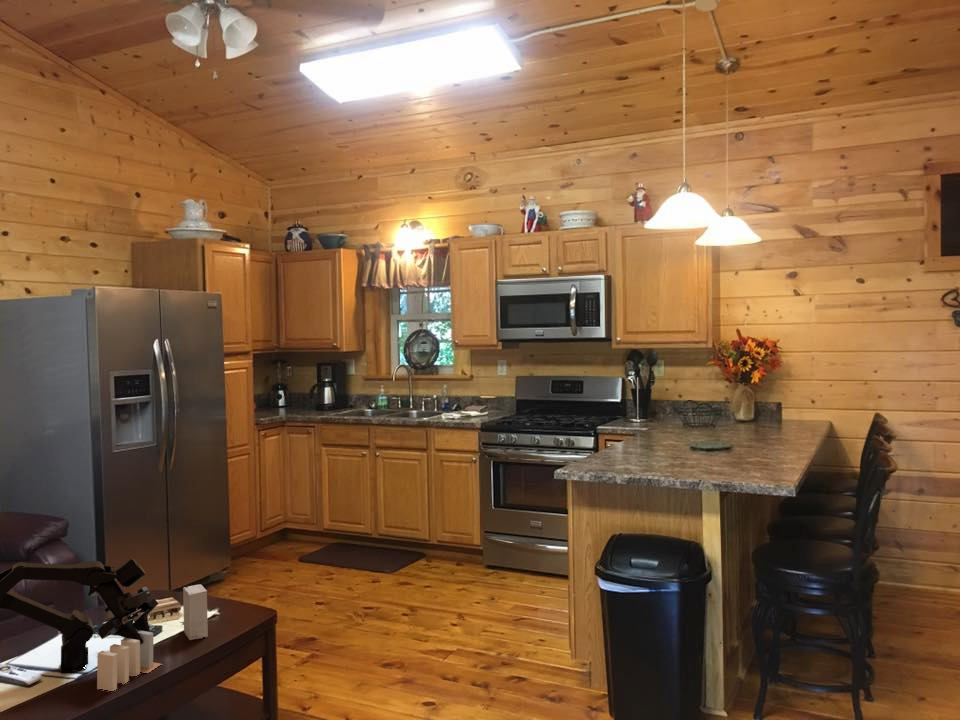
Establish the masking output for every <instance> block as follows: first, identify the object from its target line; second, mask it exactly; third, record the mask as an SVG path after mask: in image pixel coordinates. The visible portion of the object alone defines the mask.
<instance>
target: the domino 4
mask: <svg viewBox="0 0 960 720" xmlns="http://www.w3.org/2000/svg"><path fill="white" fill-rule="evenodd" d="M136 631H137V632H138V634H139V635H140V637H141V638H142V640H143V643H142V644H141V645H140V667H141V668H146V669H150V668H152V667H153V662H154V632H152V631H150V632H147V631H141V630H136Z"/></svg>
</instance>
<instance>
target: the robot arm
mask: <svg viewBox="0 0 960 720" xmlns="http://www.w3.org/2000/svg"><path fill="white" fill-rule="evenodd" d="M145 576H147V573H146V572H145V570H144V568H143V567H142V565H140V563H139V562H137V560H135V559H134V558H133V557H129V558H127V560H126V561H125V562H124V563H122V564H121V565H119V566H118V567H117V568H116V567H115V566H110V565H105V564H103V563H102V562H101V561H99V560H87V561H82V562H81V561H80V562H77V563H75V564H74V563H72V564H61V563H59V564H58V563H35V562H32V563H31V562H28V563H27V562H23V561H19V562H17V563H15V564H13V565H12V566H11V567H9V568H7V569H5V570H4V571H1V572H0V610H9V611H11V612H13V613H15V614H18V615H21V616H23V617H25V618H28V619H31V620H33V621H36V622H38V623H40V624H43V625H45V626H48V627H51V628H53V629H55V630H57V631H59V633H60V634H61V647H60V669H59V671H60V672H59V673H60V674H64V673H66V674H67V673H71V672H70V671H73V672H77V671H76V670H79V671H82V670H81V669H84V668H83V667H85V665H86V667H85V668H86V669H87V666H88V665H89V647H88V646H87V642H89V641H90V640H91V639H92V637H93V636H94V628H93V623H92V620H91V618H90V617H89V615H88V614H87V613H82V612H80V611H79V610H77V609H74V610H72V613H65V612H61V611H59V610H57V609H54V608H52V607H50V606H47V605H44V604H42V603H40V602H38V601H35V600H33V599H31V598H28V597H25V596H23V595H21V594H18V593H17V592H15V590H13V588H14V587H15V586H16V585H17V584H19V583H20V582H21V581H24V580H26V581H31V580H32V581H65V582H72V583H74V584H75V583H76V584H78V585H80V586H81V585H82V586H86V587H89V591H88V594H87V595H88V596H89V597H94V596H96V595H97V596H98V597H99V598H100V600H101V601H102V602H103V604H104V605H105V607H106V608H105V609H104V611H105V613H109V612H110V613H111V614H112V616H113V617H112V618H110V619H108V620H107V621H105V622H104V623H103V624H102V625H101V626H100V627H99V628H98V631H97V632H98V636H99V637H100V638H101V640H104V639H105V638H108V637H109V636H110V635H111V631H112V630H115V632H114V633H113V635H114V636H119V637H121V638H123V639H124V638H129V639H135V640H140V645H141V644H142V643H143V640H142V638H141V637H140V635H139V634H138V632H137V631H138V630H141V631H147V632H151V629H150V627H149V626H150V625H149V622H148V617H149V614H150V613H151V612H152V611H153V610H154V609H155V608H156V607H158V605H159V602H158V601H157V600H156V598H152V597H151V595H152V594H151V591H150V589H148V587H147V586H143V587H141V588H140V589H138V590H137V593H135V594H131V593H130V592H125V591H124V590H123V588H130V587H132V586H133V585H134V584H136V583H137V582H139V580H141V579H143V578H144V577H145ZM116 580H117V581H118V582H117V581H116ZM118 583H119V584H118ZM120 585H121V586H122V587H123V588H121V586H120ZM149 597H150V598H149ZM74 670H75V671H74Z"/></svg>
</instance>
